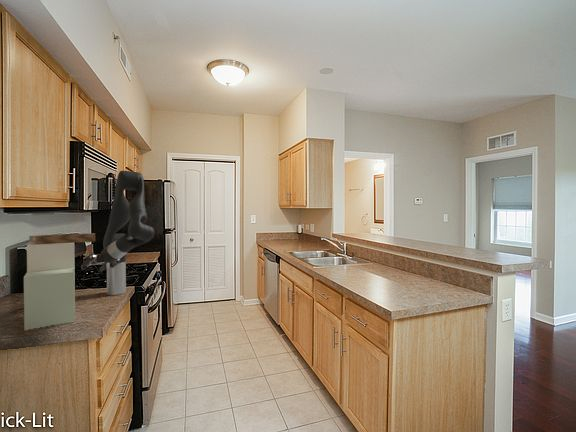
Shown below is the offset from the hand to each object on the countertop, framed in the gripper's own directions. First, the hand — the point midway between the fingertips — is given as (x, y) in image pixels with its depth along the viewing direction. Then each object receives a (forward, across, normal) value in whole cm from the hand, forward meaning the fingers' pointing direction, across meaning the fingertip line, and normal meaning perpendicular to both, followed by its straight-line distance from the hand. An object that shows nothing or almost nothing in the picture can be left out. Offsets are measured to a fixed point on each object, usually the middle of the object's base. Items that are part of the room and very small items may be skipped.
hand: (91, 269), depth 140 cm
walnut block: (0, +11, -12) cm, 16 cm away
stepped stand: (+17, +8, +16) cm, 24 cm away
